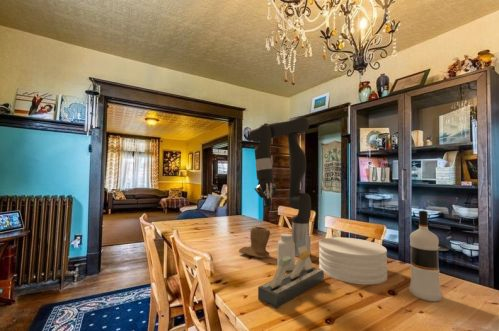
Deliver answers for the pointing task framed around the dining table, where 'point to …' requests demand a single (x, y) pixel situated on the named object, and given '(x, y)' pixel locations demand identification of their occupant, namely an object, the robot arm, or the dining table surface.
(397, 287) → the dining table surface
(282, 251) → the pill bottle
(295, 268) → the lever amber
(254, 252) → the brown boot
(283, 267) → the lever sage
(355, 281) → the plate stack
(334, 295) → the dining table surface
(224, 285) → the dining table surface
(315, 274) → the switch strip
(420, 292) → the vodka
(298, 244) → the lever slate
